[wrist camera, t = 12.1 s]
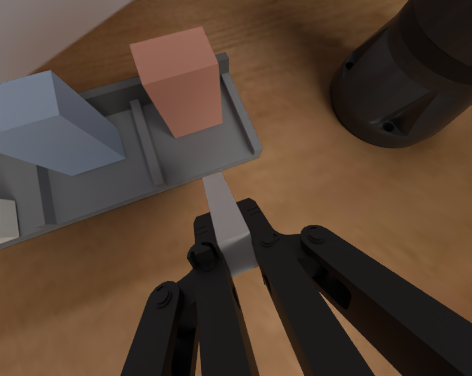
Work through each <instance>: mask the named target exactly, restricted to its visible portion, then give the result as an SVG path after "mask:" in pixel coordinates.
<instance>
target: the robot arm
mask: <svg viewBox="0 0 472 376" xmlns="http://www.w3.org/2000/svg"><path fill="white" fill-rule="evenodd" d="M330 95H331V102H332V105H333V108H334V110H335V112H336V114H337V116H338V118H339V119H340V121H341V122H342V123H343V124H344V125H345V127H346V128H347V129H348V130H350V131H351V132H352V133H353V134H354V135H356V136H357V137H359V138H360V139H362V140H364V141H366V142H368V143H371V144H373V145H377V146H380V147H386V148H402V147H407V146H411V145H413V144H416V143H418V142H420V141H422V140H424V139H427V138H429V137H431V136H433V135H434V134H436V133H438V132H439V131H441V130H442V129H443V128H444V127H445V126H447V125H448V124H449V123H450V122H452V121H453V120H454V119H455V118H456V117H458V116H459V115H460V114H461V113H462V112H464V111H465V110H466V109H467V108H468V107H470V106H471V105H472V0H408V2H407V3H406V4H405V5H404V6H403V8H402V9H401V10H400V11H399V13H398V14H397V15H396V16H394V17H393V18H392V19H391V20H390V21H389V22H387V23H386V24H385V25H384V26H383V27H381V28H380V29H379V30H378V31H377V32H376V33H374V34H373V35H372V36H371V37H370V38H368V39H367V40H366V41H365V42H364V43H363V44H361V45H360V46H359V47H358V48H357V49H355V50H354V51H353V52H352V53H351V54H350V55H349V56H348V57H347V58H346V59H345V61H344V62H343V64H342V65H341V67H340V68H339V69H338V71H337V72H336V74H335V76H334V78H333V80H332V83H331V90H330ZM202 179H203V183H204V187H205V192H206V196H207V200H208V205H209V209H210V212H209V213H206V214H203V215H201V216H198V217H196V219H195V221H194V235H195V244H194V245H193V246H192V247H191V248H190V250H189V252H188V255H187V259H188V261H189V262H190V264H191V265H192V267H193V269H192V270H191V271H190V273H189V274H187V275H186V276H185V277H184V278H182V279H181V280H180V281H178V282H177V283H175V282H173V281H167V282H164V283H162V284H160V285H159V286H157V287H156V288H155V289H154V290H153V292H152V293H151V294H150V296H149V298H148V300H147V303H146V306H145V309H144V311H143V314H142V317H141V320H140V322H139V325H138V328H137V331H136V334H135V336H134V339H133V342H132V345H131V348H130V350H129V353H128V356H127V359H126V361H125V364H124V367H123V370H122V373H121V375H120V376H195V370H196V361H197V352H198V343H199V345H200V359H201V372H202V376H259V372H258V368H257V365H256V361H255V357H254V354H253V350H252V346H251V343H250V339H249V335H248V332H247V328H246V324H245V321H244V317H243V313H242V310H241V306H240V303H239V299H238V295H237V292H236V288H235V286H234V283H233V280H232V277H233V276H236V275H238V274H241V273H243V272H246V271H248V270H251V269H253V268H256V267H258V265H259V268H260V270H261V273H262V277H263V281H264V284H266V286H267V289H268V291H269V293H270V296H271V298H272V301H273V303H274V305H275V308H276V310H277V312H278V315H279V317H280V319H281V322H282V324H283V326H284V329H285V331H286V334H287V336H288V338H289V341H290V343H291V345H292V348H293V350H294V352H295V355H296V357H297V359H298V362H299V364H300V366H301V369H302V371H303V374H304V376H375V375H374V373H373V372H372V370H371V369H370V367H369V366H368V364H367V363H366V361H365V360H364V359H363V357H362V356H361V354H360V353H359V351H358V350H357V348H356V347H355V345H354V344H353V342H352V341H351V339H350V338H349V336H348V335H347V333H346V332H345V330H344V329H343V327H342V326H341V324H340V323H339V321H338V320H337V318H336V317H335V315H334V314H333V312H332V311H331V309H330V308H329V306H328V305H327V303H326V302H325V300H324V299H323V297H322V296H321V294H322V295H323V296H324V297H325V298H326V299H327V300H328V301H329V302H330V303H331V304H332V305H333V306H334V307H335V308H336V309H337V310H338V311H339V312H340V313H341V314H342V315H343V316H344V317H345V318H346V319H347V320H348V321H349V322H350V323H351V324H352V325H353V326H354V327H355V328H356V329H357V330H358V331H359V332H360V333H361V334H362V335H363V336H364V337H365V338H366V339H367V340H368V341H369V342H370V343H371V344H372V345H373V346H374V347H375V348H376V349H377V350H378V351H379V352H380V353H381V354H382V356H383V357H384V358H385V359H386V360H387V361H388V362H389V363H390V364H391V365H392V366H393V367H394V368H395V369H396V370H397V371H398V372H399V373H400V374H401V375H402V376H472V323H471V322H469V321H468V320H466V319H464V318H463V317H461V316H460V315H458V314H457V313H455V312H454V311H452V310H451V309H449V308H448V307H446V306H445V305H443V304H441V303H440V302H438V301H437V300H435V299H434V298H432V297H431V296H429V295H428V294H426V293H425V292H423V291H422V290H420V289H419V288H417V287H415V286H414V285H412V284H411V283H409V282H408V281H406V280H405V279H403V278H402V277H400V276H399V275H397V274H396V273H394V272H392V271H391V270H389V269H388V268H386V267H385V266H383V265H382V264H380V263H379V262H377V261H376V260H374V259H373V258H371V257H370V256H368V255H366V254H365V253H363V252H362V251H360V250H359V249H357V248H356V247H354V246H353V245H351V244H350V243H348V242H347V241H345V240H343V239H342V238H340V237H339V236H337V235H336V234H334V233H333V232H331V231H330V230H328V229H327V228H324V227H322V226H319V225H309V226H307V227H304V228H303V229H302V231H301V234H293V235H285V234H280V233H278V232H277V231H275V230H274V229H273V228H272V227H271V225H270V224H269V222H268V220H267V219H266V217H265V216H264V214H263V213H262V212H261V210H260V208H259V207H258V205H257V203H256V202H255V201H254V200H252V199H250V198H247V199H244V200H241V201H239V202H235V200H234V198H233V195H232V193H231V191H230V189H229V187H228V185H227V183H226V181H225V179H224V176H223V174H222V172H218V173H215V174H212V175H209V176H206V177H203V178H202ZM319 292H320V293H321V294H320V293H319Z"/></svg>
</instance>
